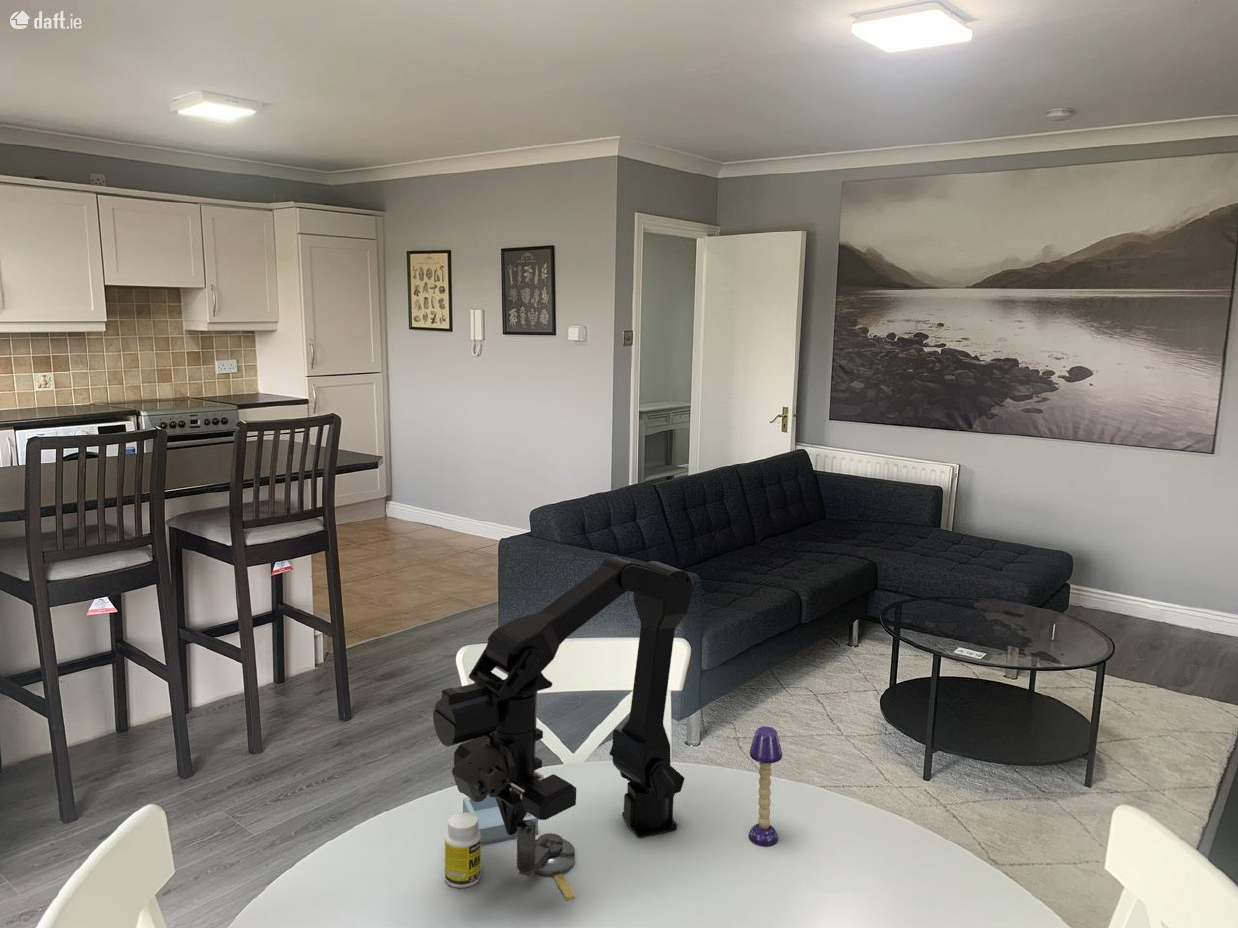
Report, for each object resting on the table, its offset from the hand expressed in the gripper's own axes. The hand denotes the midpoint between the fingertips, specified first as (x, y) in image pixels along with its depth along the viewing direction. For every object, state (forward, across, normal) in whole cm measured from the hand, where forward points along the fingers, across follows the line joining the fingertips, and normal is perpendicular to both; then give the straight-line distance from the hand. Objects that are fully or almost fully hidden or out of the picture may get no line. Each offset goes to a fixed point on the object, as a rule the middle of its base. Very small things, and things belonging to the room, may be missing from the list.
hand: (511, 833), depth 119 cm
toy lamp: (+6, +18, +33) cm, 38 cm away
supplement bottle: (+7, -5, -4) cm, 10 cm away
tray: (+7, -12, +7) cm, 15 cm away
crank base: (+7, +3, +5) cm, 9 cm away
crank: (+5, +2, +4) cm, 6 cm away
